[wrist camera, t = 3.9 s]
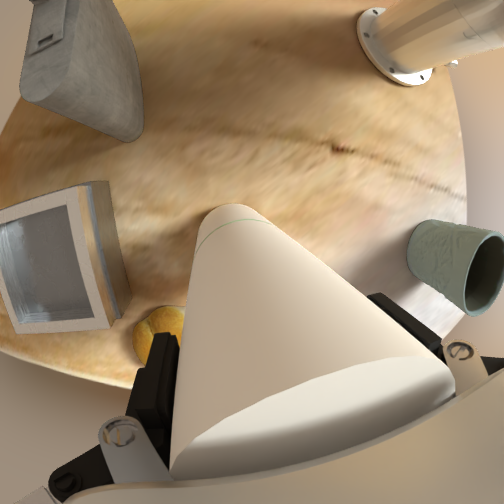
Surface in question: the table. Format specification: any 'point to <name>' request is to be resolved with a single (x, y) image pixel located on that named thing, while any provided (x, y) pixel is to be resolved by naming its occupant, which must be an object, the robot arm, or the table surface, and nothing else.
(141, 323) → the bread roll
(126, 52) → the hip flask
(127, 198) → the table surface
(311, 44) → the table surface
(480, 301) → the green cup
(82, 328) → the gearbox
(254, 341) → the cylindrical container
